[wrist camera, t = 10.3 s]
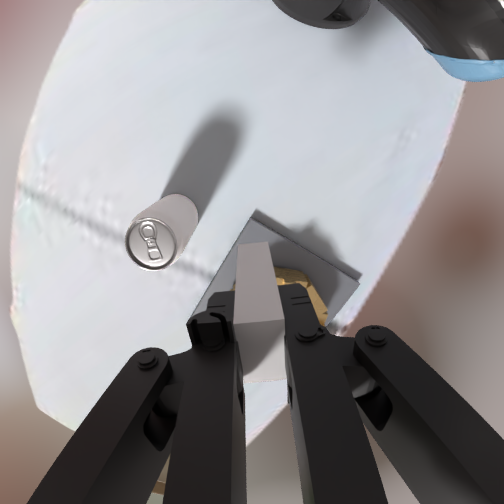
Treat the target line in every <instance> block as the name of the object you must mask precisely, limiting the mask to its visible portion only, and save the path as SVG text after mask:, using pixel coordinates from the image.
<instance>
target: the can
mask: <svg viewBox="0 0 504 504" xmlns="http://www.w3.org/2000/svg"><path fill="white" fill-rule="evenodd" d="M197 223H198V211H197V208H196V206H195V205H194V203H193V202H192V201H191V200H190V199H189V198H187V197H185V196H183V195H180V194H171V195H168V196H165V197H163V198H162V199H160V200H159V201H157V202H155V203H154V204H152V205H151V206H149V207H148V208H146V209H145V210H143V211H142V212H141V213H139V214H138V215H137V216H136V217H135V218H134V219H133V220H132V222H131V223H130V225H129V228H128V230H127V233H126V236H125V247H126V251H127V253H128V255H129V257H130V258H131V260H132V261H133V262H134V263H135V264H136V265H138V266H139V267H141V268H143V269H145V270H149V271H159V270H162V269H165V268H166V267H168V266H170V265H172V264H173V263H175V262H176V261H177V260H178V259H179V257H180V256H181V254H182V253H183V251H184V249H185V247H186V245H187V244H188V242H189V240H190V238H191V236H192V234H193V232H194V231H195V229H196V226H197Z"/></svg>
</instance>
